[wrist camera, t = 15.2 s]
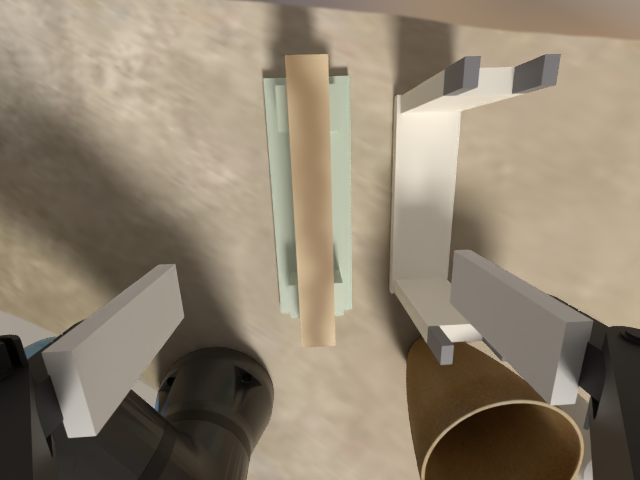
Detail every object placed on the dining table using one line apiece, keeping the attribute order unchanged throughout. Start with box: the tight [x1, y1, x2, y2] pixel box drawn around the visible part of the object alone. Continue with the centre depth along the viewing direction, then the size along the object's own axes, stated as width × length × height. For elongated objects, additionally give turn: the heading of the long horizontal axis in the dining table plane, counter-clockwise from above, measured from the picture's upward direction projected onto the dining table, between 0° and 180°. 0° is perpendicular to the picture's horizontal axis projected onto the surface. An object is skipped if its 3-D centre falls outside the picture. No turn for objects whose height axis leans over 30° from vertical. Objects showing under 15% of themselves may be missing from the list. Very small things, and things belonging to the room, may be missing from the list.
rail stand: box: [389, 54, 561, 365], centre depth 30 cm, size 7×23×15 cm, turn 2°
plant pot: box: [406, 337, 584, 480], centre depth 36 cm, size 15×15×16 cm
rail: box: [285, 54, 335, 348], centre depth 30 cm, size 4×27×4 cm, turn 2°
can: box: [557, 393, 593, 480], centre depth 41 cm, size 8×8×12 cm
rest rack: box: [263, 76, 352, 318], centre depth 34 cm, size 9×27×5 cm, turn 2°
